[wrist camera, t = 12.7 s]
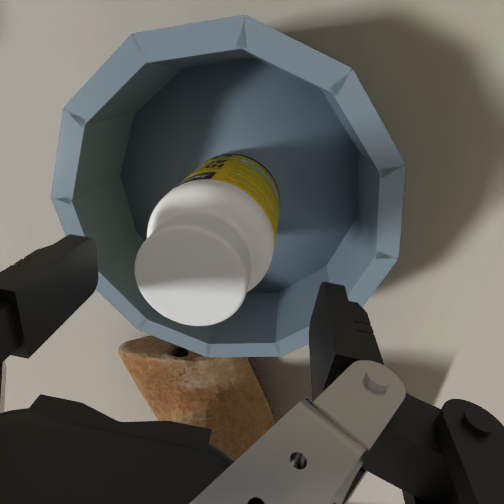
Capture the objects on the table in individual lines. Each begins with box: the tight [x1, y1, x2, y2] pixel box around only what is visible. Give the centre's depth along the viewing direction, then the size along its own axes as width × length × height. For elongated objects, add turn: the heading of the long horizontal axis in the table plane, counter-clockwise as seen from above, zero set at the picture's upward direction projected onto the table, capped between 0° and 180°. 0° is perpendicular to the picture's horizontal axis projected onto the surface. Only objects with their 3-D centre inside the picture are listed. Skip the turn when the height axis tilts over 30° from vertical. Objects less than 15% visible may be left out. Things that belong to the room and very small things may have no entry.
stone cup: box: [118, 336, 275, 461], centre depth 22 cm, size 15×12×15 cm
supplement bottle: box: [135, 153, 280, 326], centre depth 16 cm, size 5×5×10 cm
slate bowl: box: [51, 15, 406, 357], centre depth 18 cm, size 16×16×6 cm
